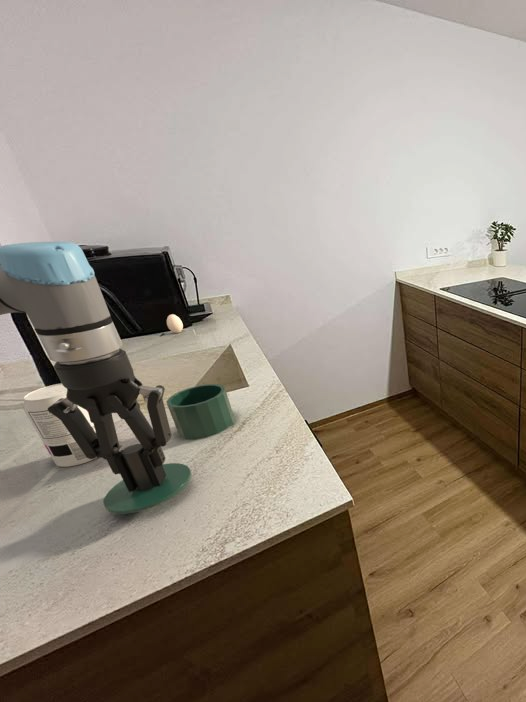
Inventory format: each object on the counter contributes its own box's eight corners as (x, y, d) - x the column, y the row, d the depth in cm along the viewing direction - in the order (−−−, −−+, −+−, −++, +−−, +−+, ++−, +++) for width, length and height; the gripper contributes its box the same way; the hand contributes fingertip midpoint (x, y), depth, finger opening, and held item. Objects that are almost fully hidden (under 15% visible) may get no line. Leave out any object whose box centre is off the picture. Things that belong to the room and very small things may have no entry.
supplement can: (47, 465, 73) (7, 398, 67) (97, 441, 81) (65, 378, 75) (74, 473, 71) (35, 404, 65) (123, 447, 78) (92, 384, 72)
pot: (172, 445, 79) (158, 411, 75) (188, 420, 88) (176, 388, 84) (229, 435, 82) (218, 401, 79) (239, 412, 91) (229, 381, 88)
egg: (187, 331, 147) (181, 313, 144) (174, 335, 143) (168, 316, 140) (180, 330, 149) (174, 312, 146) (167, 333, 145) (161, 315, 142)
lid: (90, 525, 57) (65, 480, 53) (125, 477, 67) (106, 436, 63) (179, 505, 61) (161, 462, 57) (200, 462, 70) (186, 423, 67)
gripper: (-6, 374, 48) (74, 512, 57) (146, 357, 53) (196, 486, 62) (34, 353, 54) (100, 480, 64) (166, 339, 59) (209, 459, 69)
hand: (148, 483), depth 63 cm, fingers closed on lid, 3 cm apart
